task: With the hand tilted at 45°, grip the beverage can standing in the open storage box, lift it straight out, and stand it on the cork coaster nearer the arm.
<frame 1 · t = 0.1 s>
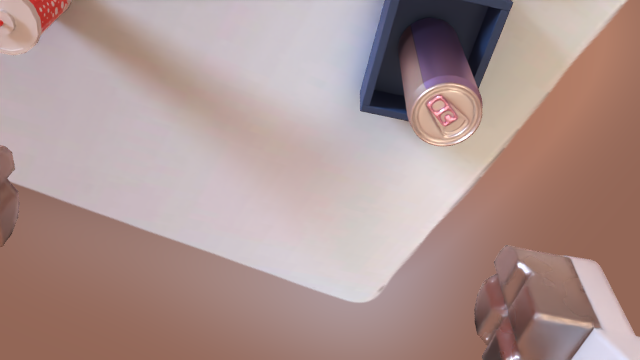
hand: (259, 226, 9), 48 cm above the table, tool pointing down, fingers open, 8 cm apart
open storage box: (427, 43, 57), on the table
beverage can: (427, 43, 57), resting on open storage box
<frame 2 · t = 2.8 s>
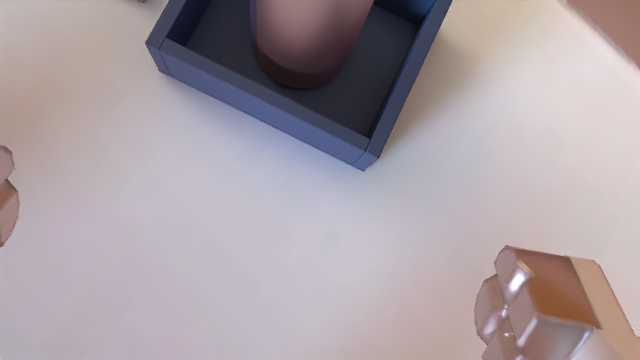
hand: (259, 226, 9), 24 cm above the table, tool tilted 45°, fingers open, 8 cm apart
open storage box: (300, 46, 35), on the table
beverage can: (300, 45, 35), resting on open storage box
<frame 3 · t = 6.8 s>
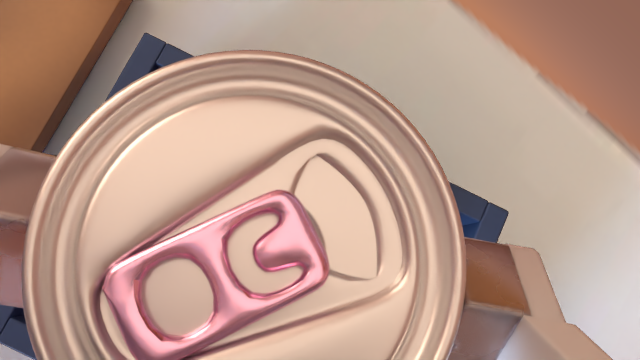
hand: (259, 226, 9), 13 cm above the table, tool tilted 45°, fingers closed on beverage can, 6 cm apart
open storage box: (258, 267, 22), on the table
beverage can: (258, 267, 22), resting on open storage box, touching gripper
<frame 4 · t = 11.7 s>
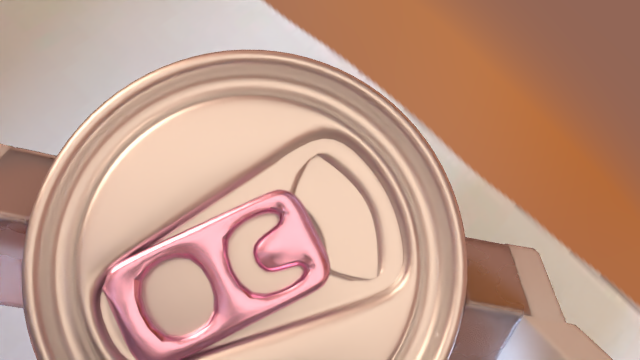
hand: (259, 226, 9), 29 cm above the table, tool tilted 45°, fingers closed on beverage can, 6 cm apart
beverage can: (258, 267, 22), point 16 cm above the table, touching gripper
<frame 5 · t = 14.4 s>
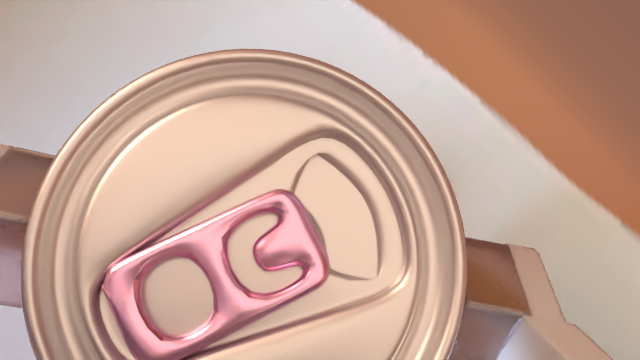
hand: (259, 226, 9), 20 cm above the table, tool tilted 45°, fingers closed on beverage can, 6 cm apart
beverage can: (258, 267, 22), point 8 cm above the table, touching gripper
when the fingers open (13 cm above the table, at t = 16.8 s): beverage can stays where it is, resting on coaster.
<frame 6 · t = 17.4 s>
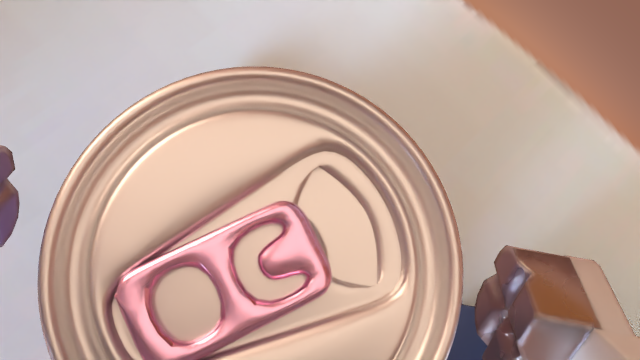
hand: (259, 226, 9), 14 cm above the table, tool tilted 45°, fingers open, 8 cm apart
beverage can: (261, 270, 22), point 1 cm above the table, touching coaster
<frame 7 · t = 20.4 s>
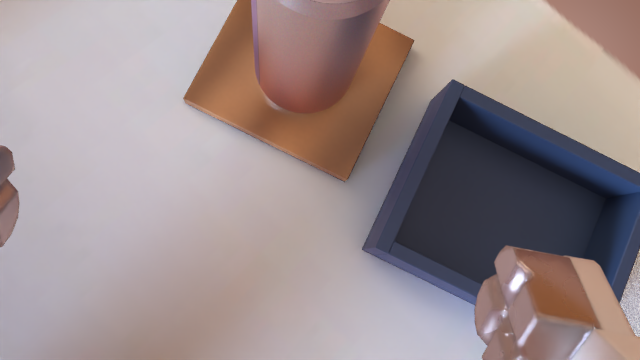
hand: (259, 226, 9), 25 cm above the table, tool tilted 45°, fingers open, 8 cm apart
coaster: (300, 73, 36), on the table
open storage box: (493, 220, 36), on the table
beverage can: (303, 70, 35), point 1 cm above the table, touching coaster
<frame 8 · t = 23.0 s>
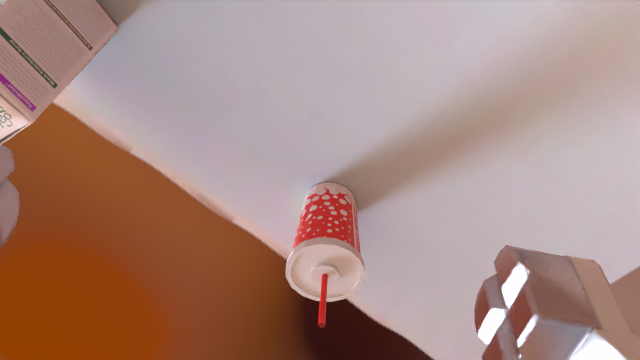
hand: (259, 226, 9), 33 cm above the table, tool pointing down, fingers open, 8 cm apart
beverage cup: (330, 201, 51), on the table
syrup box: (69, 15, 42), on the table
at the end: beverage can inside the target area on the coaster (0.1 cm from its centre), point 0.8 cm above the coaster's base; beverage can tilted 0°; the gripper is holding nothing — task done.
